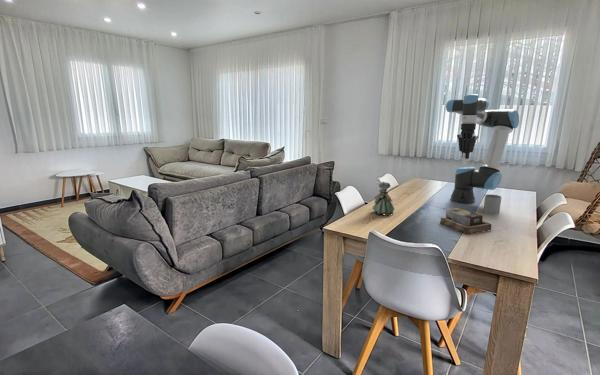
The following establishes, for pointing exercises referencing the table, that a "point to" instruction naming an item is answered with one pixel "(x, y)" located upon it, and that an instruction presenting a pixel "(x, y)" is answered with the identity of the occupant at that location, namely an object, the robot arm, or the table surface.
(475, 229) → the cradle
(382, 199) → the figurine
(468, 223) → the coffee box
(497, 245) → the table surface
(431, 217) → the table surface
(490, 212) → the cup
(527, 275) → the table surface
